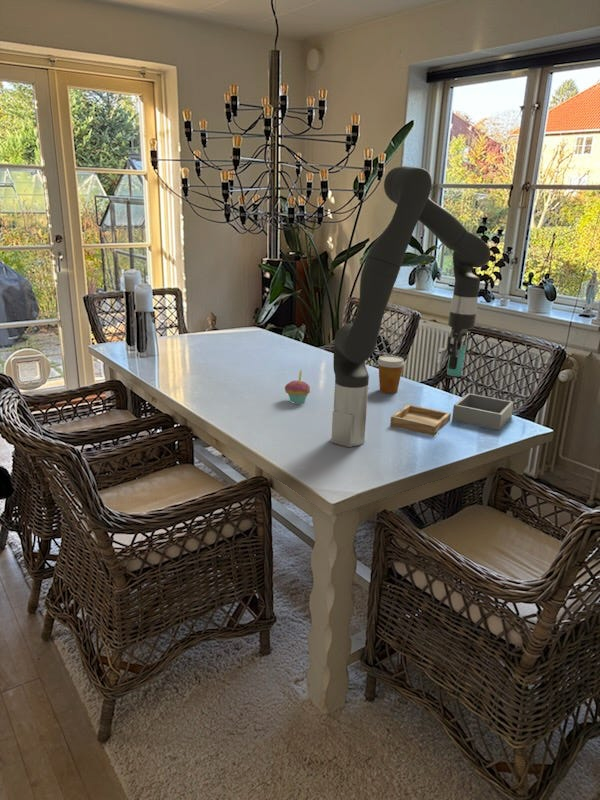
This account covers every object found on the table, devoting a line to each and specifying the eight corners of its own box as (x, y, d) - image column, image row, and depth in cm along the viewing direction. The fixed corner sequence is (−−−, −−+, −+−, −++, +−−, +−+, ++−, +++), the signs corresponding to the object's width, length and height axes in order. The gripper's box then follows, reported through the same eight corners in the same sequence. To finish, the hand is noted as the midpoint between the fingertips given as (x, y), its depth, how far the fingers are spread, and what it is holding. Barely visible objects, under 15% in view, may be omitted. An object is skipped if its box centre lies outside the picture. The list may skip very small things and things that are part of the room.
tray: (433, 436, 179) (435, 426, 178) (390, 425, 186) (391, 416, 185) (449, 422, 191) (450, 413, 190) (408, 413, 198) (408, 404, 197)
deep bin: (498, 433, 183) (501, 414, 181) (451, 423, 190) (453, 404, 188) (511, 419, 195) (513, 401, 193) (466, 410, 202) (468, 393, 200)
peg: (458, 377, 182) (463, 347, 179) (444, 374, 184) (448, 345, 181) (463, 374, 186) (467, 345, 183) (449, 371, 188) (453, 343, 185)
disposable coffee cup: (405, 389, 221) (408, 357, 217) (395, 396, 213) (398, 363, 209) (381, 385, 226) (383, 353, 222) (370, 391, 218) (373, 359, 214)
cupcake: (314, 403, 204) (315, 369, 200) (292, 407, 200) (293, 372, 196) (301, 396, 211) (302, 362, 207) (280, 399, 207) (280, 365, 203)
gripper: (468, 315, 171) (459, 374, 177) (482, 310, 183) (474, 365, 188) (442, 312, 175) (434, 369, 180) (458, 306, 187) (450, 360, 192)
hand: (455, 366), depth 184 cm, fingers closed on peg, 4 cm apart
